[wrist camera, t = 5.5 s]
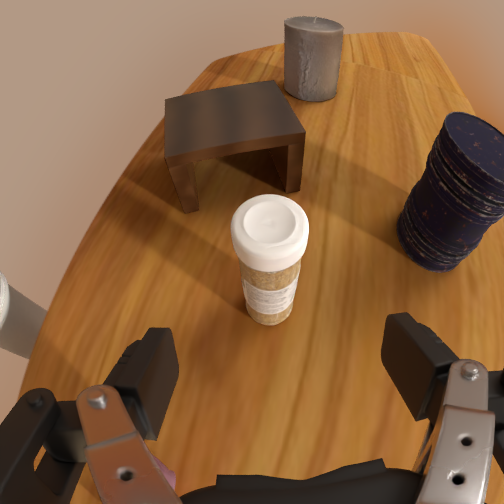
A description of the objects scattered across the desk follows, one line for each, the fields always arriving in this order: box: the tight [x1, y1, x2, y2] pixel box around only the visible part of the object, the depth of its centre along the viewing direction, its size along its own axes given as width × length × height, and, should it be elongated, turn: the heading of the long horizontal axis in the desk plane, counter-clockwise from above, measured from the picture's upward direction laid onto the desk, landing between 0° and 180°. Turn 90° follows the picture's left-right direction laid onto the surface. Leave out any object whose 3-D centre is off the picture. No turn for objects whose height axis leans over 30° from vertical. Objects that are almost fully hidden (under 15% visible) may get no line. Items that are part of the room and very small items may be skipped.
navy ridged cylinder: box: [397, 112, 504, 273], centre depth 25 cm, size 10×10×15 cm
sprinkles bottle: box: [231, 194, 309, 325], centre depth 23 cm, size 5×5×14 cm
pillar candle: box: [284, 16, 344, 101], centre depth 42 cm, size 10×10×15 cm
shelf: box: [165, 80, 306, 213], centre depth 34 cm, size 14×12×9 cm
